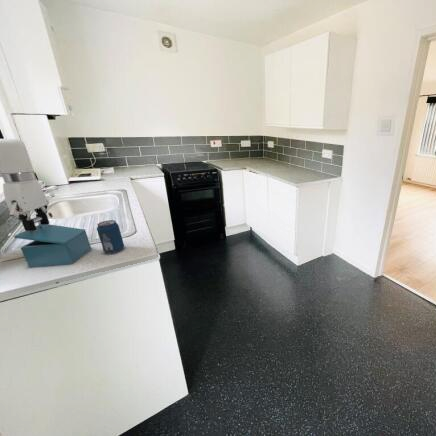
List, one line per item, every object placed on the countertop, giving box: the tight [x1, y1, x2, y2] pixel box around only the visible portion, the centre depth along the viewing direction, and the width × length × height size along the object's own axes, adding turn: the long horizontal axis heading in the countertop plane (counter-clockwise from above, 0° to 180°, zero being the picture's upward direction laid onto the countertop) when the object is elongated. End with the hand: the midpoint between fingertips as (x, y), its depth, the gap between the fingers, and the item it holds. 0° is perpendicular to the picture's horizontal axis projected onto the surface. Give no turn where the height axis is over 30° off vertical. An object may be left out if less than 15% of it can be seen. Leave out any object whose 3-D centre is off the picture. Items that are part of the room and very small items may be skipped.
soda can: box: [96, 219, 125, 255], centre depth 96 cm, size 7×7×12 cm
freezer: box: [20, 231, 92, 268], centre depth 92 cm, size 14×12×8 cm
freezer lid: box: [13, 216, 86, 244], centre depth 89 cm, size 15×12×6 cm
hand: (37, 226), depth 88 cm, fingers closed on freezer lid, 5 cm apart
